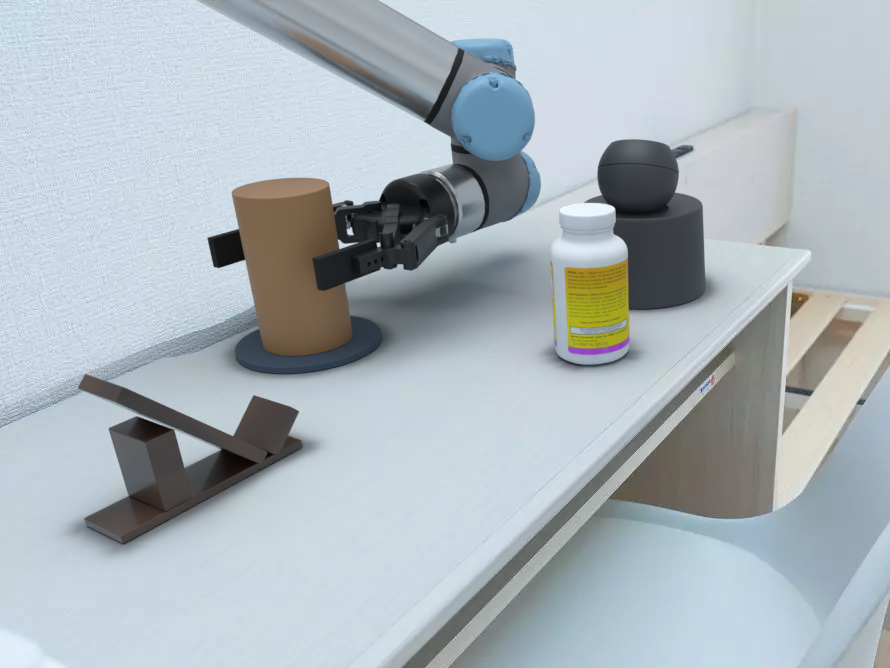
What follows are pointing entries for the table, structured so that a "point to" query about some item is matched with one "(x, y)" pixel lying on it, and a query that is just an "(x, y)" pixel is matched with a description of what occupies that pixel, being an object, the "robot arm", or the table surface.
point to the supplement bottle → (589, 286)
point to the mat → (263, 361)
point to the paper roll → (291, 264)
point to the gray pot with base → (653, 223)
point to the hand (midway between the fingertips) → (262, 263)
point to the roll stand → (160, 463)
